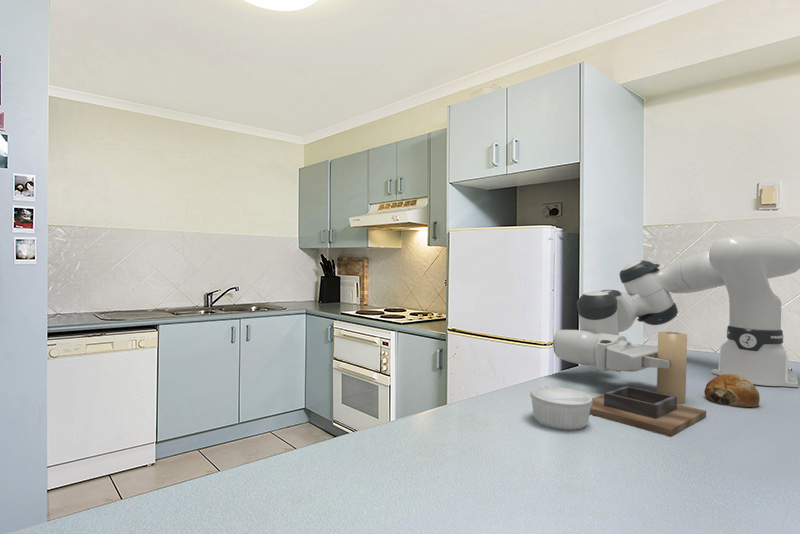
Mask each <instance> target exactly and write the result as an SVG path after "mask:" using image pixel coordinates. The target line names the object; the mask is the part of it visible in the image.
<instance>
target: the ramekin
mask: <svg viewBox="0 0 800 534" xmlns="http://www.w3.org/2000/svg"><path fill="white" fill-rule="evenodd" d="M529 393H530V395H529V396H530V398H531V404H532V411H533V412H532V413H533V416H534V418H535V420H536V421H537V422H538V423H539V424H541V425H542V426H544V427H545V426H546V427H549V428H552V429H557V430H562V431H563V430H564V431H575V430H581V429H584V427H586V426H587V425H588V423H589V418H590V414H589V413H590V408H591V405H592V398H593V397H592V396H591V395H589V394H588V393H587V392H584V391H580V390H577V389H573V388H568V387H561V386H541V387H535V388H533V389H532V390H531V391H530V392H529Z"/></svg>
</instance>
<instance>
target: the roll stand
mask: <svg viewBox="0 0 800 534" xmlns="http://www.w3.org/2000/svg"><path fill="white" fill-rule="evenodd" d="M589 415H592V416H596V417H600V418H604V419H607V420H611V421H614V422H618V423H621V424H625V425H627V426H630V427H631V426H632V427H636V428H640V429H643V430H646V431H650V432H653V433H656V434H660V435H665V436H668V437H673V436H675V435H676V434H677V433H680V432H682V431H683V430H685V429H687V428H689V427H690V426H692V425H694V424H696V423H698V422H700V421H701V420H703V419H704V418H706V417H707V410H705V409H702V408H701V409H700V408H697V407H692V406H687V405H684V404H677V397H676V396H671V395H666V394H662V393H657V391H651V390H648V389H647V390H646V389H642V388H638V387H634V386H629V385H625V386H622V387H619V388H615V389H613V390H610V391H607V392H604V394H601V395H599V396H596V397H592V405H591V408H590V413H589Z"/></svg>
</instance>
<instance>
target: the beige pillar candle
mask: <svg viewBox="0 0 800 534" xmlns="http://www.w3.org/2000/svg"><path fill="white" fill-rule="evenodd" d="M657 336H658V337H657V346H658V359H666V360H670V361H671V367H670V368H668V369H665V368H657V369H656V392H657V393H662V394H666V395H671V396H676V397H677V404H679V405H683V404H685V403H686V396H687V394H686V392H687V391H686V390H687V355H688V354H687V353H688V334H687V333H683V332H677V331H658V332H657Z"/></svg>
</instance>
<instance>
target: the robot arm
mask: <svg viewBox="0 0 800 534" xmlns="http://www.w3.org/2000/svg"><path fill="white" fill-rule="evenodd" d="M660 266H661V265H660V264H659V263H654V262H651V261H648V260H636V261H632V262H629V263H628V264H626V265H625V266H623V268H622V269H621V270H620V271H619V275H618V276H619V279H620V282H621V283H622V284H623V286H624V288H625V291H626V292H624V291H623V292H622V291H620V290H616V289H603V290H596V291H588V292H585V293H583V294H582V295H581V296H580V297H579V298H578V299H577V301H576V306H577V307H576V308H577V312H578V313H577V314H578V322H579V329H558V330H557V331H555V333H554V335H553V340H552V342H553V344H552V347H553V352H554V355H555V356H556V357H557V359H558V358H559V359H561V360H563V361H566V362H568V363H569V362H570V363H572V364H577V365H581V366H594V367H596V370H597V371H598V370H599V371H603V372H607V371H612V372H617V373H619V372H625V373H626V372H627V373H628V372H631V373H633V372H635V373H636V372H638V371H641V370H642V371H643V370H645V369H648V368H653V369H654V368H655V369H656V368H665V369H668V368H670V367H671V361H670V360H666V359H658V345H654V344H653V345H652V344H645V343H636V344H632V342H630V341H628V339H627V338H626V336H624V335H620V333H621V332H625V331H627V330H629V329H630V328H631V327H632V326H633V325H634V322H635V321H636V319H637V321H638V322H639V323H640V322H641V323H644V324H646V325H651V326H658V325H659V326H660V325H665V324H668V323H670V322H671V321H672V320H674V318H676V317H677V315H678V314H679V311H678V306H677V304H676V302H674V300H673V297H672V295H671V293H672V294H690V293H691V294H692V293H697V292H702V291H706V290H710V289H715V288H718V287H719V288H720V287H722V286H725V287H726V290H727V291H726V292H727V294H728V302H729V317H728V318H729V325H728V326H727V327H726V328H727V329H726V338H727V341H726V342H724V343H722V344H721V345H720V347H719V348H720V349H719V356H718V357H719V358H718V368H712V371H711V372H712V374H714V375H717V376H720V375H723V374H734V375H739V376H741V377H743V378H745V379H747V380H748V381H750V382H751V383H752V384H753V385H757V386H766V387H767V386H768V387H769V386H770V387H787V388H799V387H800V385H799V381H798V376H797V374H796V373H792V371H793V369H792V367H791V366H789V353H788V352H787V351H786V350H785V348H784V346H783V343H784V333H783V330H782V329H781V328H782V300H781V299H780V297H779V296H778V295H777V294H776V293H775V292H774V291H773V289H772V288H771V286H770V283H769V279H772V278H778V277H783V276H789V275H792V274H795V273H796V272H798V271H799V270H800V244H798V242H797V243H796V241H792V240H789V239H786V238H783V237H776V236H759V235H742V234H741V235H740V234H737V235H736V234H735V235H731V236H727V237H726V236H725V237H723V238H719V239H718V240H716V241H715V242H713V243H712V245H711V246H710V249H709V250H706V251H702V252H700V253H697V254H694V255H690V256H687V257H685V258H682V259H680V260H677V261H675V262H673V263H671V264H670V265H668V266H666V267H664V268H661V269H660V268H659V267H660Z"/></svg>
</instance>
